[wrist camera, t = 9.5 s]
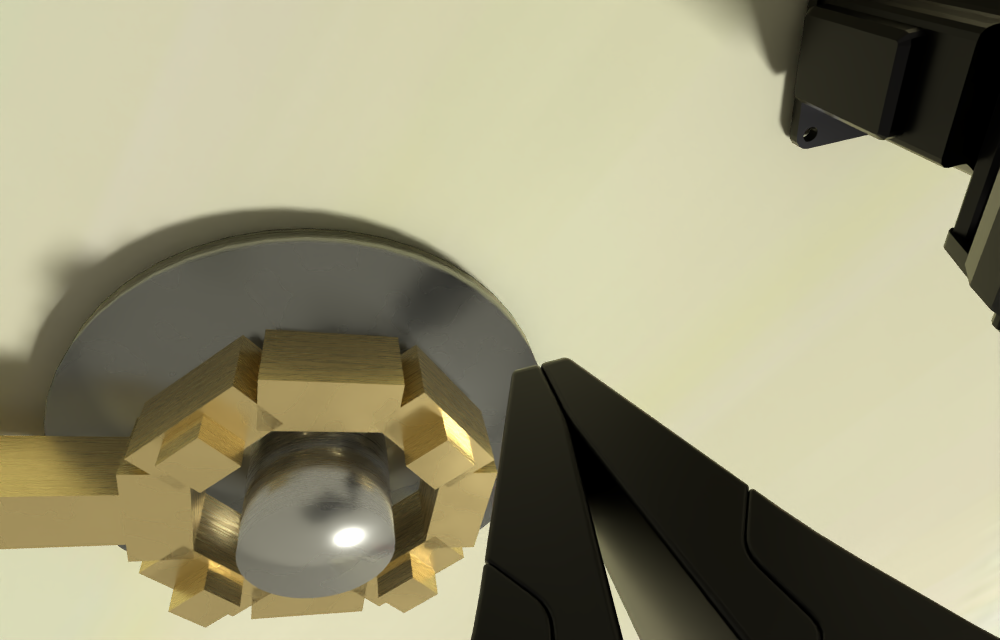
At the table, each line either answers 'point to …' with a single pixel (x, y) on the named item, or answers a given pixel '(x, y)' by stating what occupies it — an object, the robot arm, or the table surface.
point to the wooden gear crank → (219, 451)
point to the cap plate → (250, 311)
